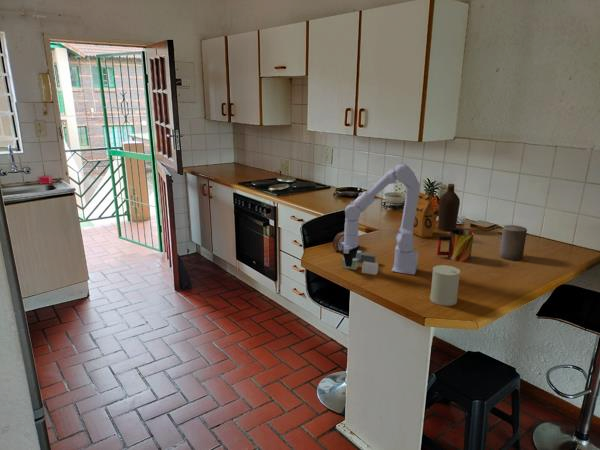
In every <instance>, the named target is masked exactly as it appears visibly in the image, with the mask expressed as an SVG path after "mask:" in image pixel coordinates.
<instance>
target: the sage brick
mask: <svg viewBox="0 0 600 450" xmlns="http://www.w3.org/2000/svg"><path fill="white" fill-rule="evenodd" d="M358 267H359V261H358V259H357V258H353V260H352V265H351V267H349V266H346V264H345V259H344V257H343V258H342V261H341V268H342V269H349V270H355V271H356V270H357V269H358Z"/></svg>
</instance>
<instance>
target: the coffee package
mask: <svg viewBox="0 0 600 450" xmlns="http://www.w3.org/2000/svg"><path fill="white" fill-rule="evenodd" d="M434 225H435V210H434V205H433V201H432V197H431V195H429V194H426V193H423V192H420V191H419V196H418V202H417V208H416V214H415V220H414V226H413V235H415V236H418V237H420V238H422V239H425V238H432V237H433V233H434Z"/></svg>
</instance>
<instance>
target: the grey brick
mask: <svg viewBox="0 0 600 450" xmlns="http://www.w3.org/2000/svg"><path fill="white" fill-rule="evenodd" d="M362 273H363V274H368V275H374V276H375V275H377V274H378V273H379V263H378V262H376V263H372V262H365V261H364V262H363V263H361V274H362Z"/></svg>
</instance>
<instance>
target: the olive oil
mask: <svg viewBox="0 0 600 450" xmlns="http://www.w3.org/2000/svg"><path fill="white" fill-rule="evenodd" d="M460 204H461V199H460V197H459V196H458V194H457V193H456V192H455V184H454V183H448V184H447V191H446V192H444V193H443V194H442V195H441V196H440V198H439V201H438V217H437V218H438V219H437V229H438V230H440V231H442V232H451V230H454V229H457V223H458V217H459V210H460Z"/></svg>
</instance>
